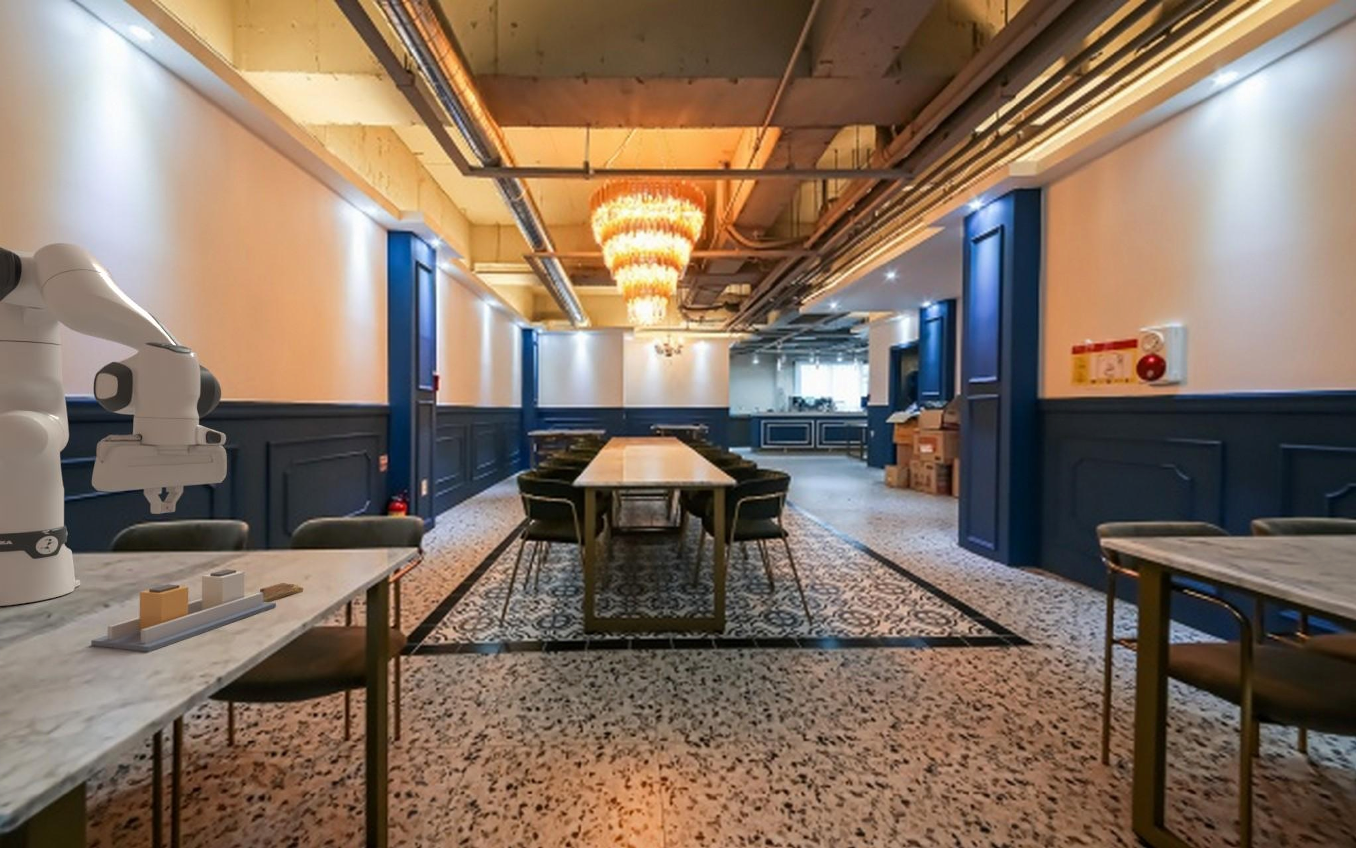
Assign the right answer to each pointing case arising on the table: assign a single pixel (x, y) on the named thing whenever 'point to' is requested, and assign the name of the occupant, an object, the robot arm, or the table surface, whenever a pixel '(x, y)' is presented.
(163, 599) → the block
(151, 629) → the rail panel
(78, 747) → the table surface
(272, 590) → the shard
